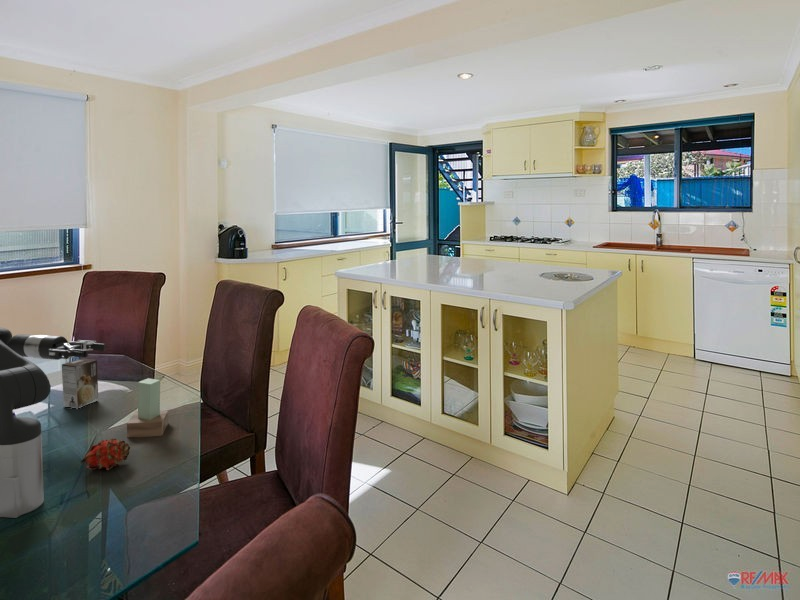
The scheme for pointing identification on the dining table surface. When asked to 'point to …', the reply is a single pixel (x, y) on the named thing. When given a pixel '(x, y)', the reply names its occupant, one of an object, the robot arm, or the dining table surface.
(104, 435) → the dining table surface
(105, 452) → the dragon fruit
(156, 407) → the sage block
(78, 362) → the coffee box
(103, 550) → the dining table surface
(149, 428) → the tan flat square block
